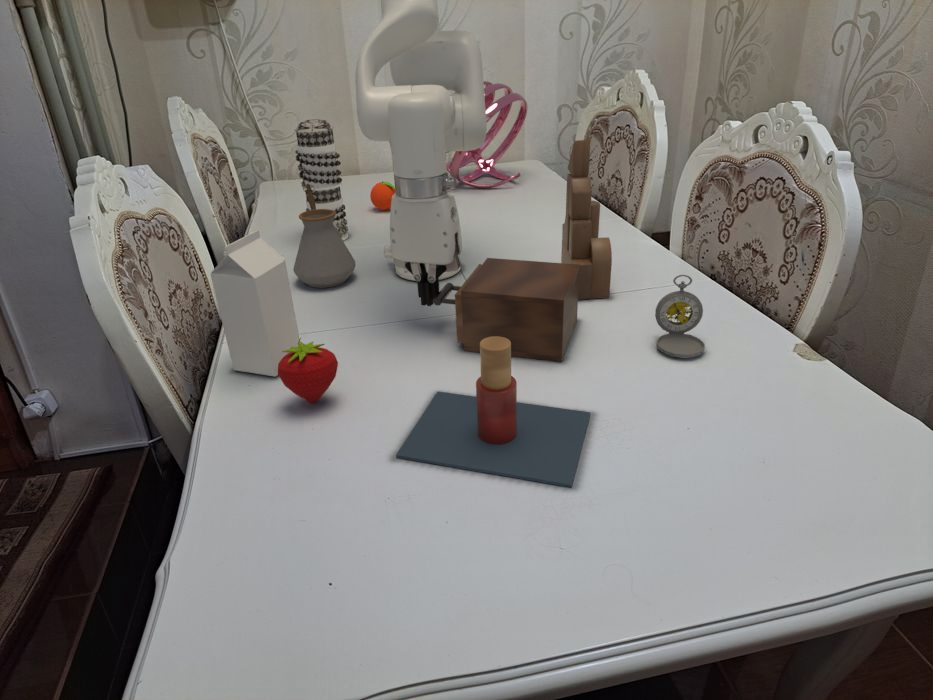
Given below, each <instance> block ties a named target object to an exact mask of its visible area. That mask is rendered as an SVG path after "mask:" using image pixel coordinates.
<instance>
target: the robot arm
mask: <svg viewBox="0 0 933 700" xmlns="http://www.w3.org/2000/svg"><path fill="white" fill-rule="evenodd" d="M438 5H439V4H438V0H380V6H381V21H380V22H379V23H378V25H377V26H376V27H375V28H374V29H373V31H371V33H370V34H369V35H368V37H367V39H366V40H365V42H364V43H363V46H362V48H361V51H360V52H359V54H358V57H357V60H356V66H355V97H356V98H355V99H356V115H357V122H358V126H359V128H360V129H359V130H360V131H361V133H362V134H363V136H364V137H365V138H367V139H368V140H370V141H374V142H388V143H389V147H390V151H391V158H392V159H391V160H392V170H393V171H392V172H393V181H394V187H395V194H394V195H393V196H392V201H391V209H390V210H389V211H390V212H389V242H390V245H385V246H384V248H383V254H384V258H385V259H387V260H393V261H392V263H393V264H394V265H395V273H396V275H398V276H399V277H400V278H402V279H405V280H408V281H413V282H417V284H416V285H417V294H418V298H419V299H420V305H421V306H424V307H425V306H427V307H432V306H433V305H434V303H433V299H434V298H435V296H436V295H437V294H438V293H439V292H440V280H444V279H447V278H450V277H454V276H455V275H457V274H458V273H459V272H460V271H461V269H462V263H461V260H460V255H461V254H462V253H463V239H462V229H461V223H460V217H459V211H458V206H457V202H456V198H455V195H454V193H453V192H450V190H455V189H456V188H457V180H456V179H455V178H451V177H449V172H448V171H447V168H446V162H447V153H446V152H448V153H451V152H453V153H454V152H456V151H469V150H475V149H478V148H480V147H481V146H482V145H483V144H484V142H485V139H486V133H487V132H488V131H487V125H488V123H486V109H485V96H484V88H485V86H484V83H483V81H484V72H483V62H482V61H483V60H482V53H481V48H480V45H479V41H478V39H477V38H476V36H475V35H474V34H473V33H471V32H469V31H467V30H458V29H457V30H438V26H439V22H440V21H439V20H440V18H439V7H438ZM387 63H389V68H390V74H391V75H390V76H391V79H392V81H393V83H394V85H388V86H387V85H386V86H375V85H376V78H377V75H378V74H379V72H380V71H381V70H382V69H383V67H384V66H385V65H387ZM450 91H454V93H455V92H456V93H457V94H454V93H450Z"/></svg>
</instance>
